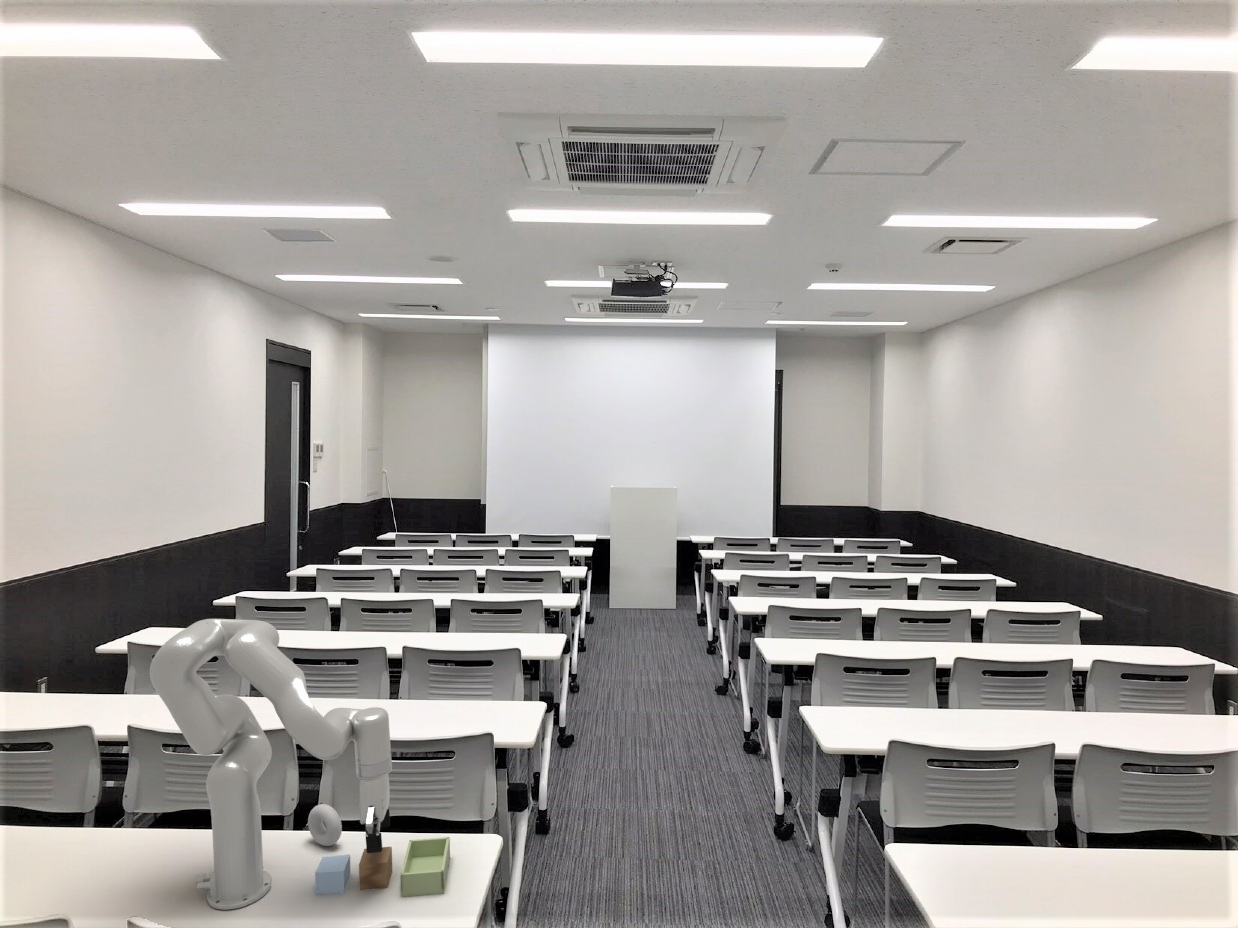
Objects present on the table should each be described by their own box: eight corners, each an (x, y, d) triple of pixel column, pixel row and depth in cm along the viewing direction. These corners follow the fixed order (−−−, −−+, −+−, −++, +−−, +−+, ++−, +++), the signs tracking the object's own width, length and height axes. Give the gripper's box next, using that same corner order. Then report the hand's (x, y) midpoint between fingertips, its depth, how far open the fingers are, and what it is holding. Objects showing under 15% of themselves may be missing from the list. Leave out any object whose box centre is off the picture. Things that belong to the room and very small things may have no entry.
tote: (400, 896, 162) (400, 874, 161) (410, 860, 175) (409, 839, 174) (444, 892, 163) (443, 871, 162) (450, 857, 176) (449, 836, 176)
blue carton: (315, 894, 163) (315, 872, 162) (323, 877, 169) (322, 856, 168) (344, 892, 163) (343, 870, 163) (350, 875, 169) (350, 854, 169)
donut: (305, 842, 182) (303, 803, 181) (317, 835, 185) (315, 796, 184) (334, 853, 177) (332, 813, 177) (345, 846, 181) (344, 806, 180)
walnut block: (359, 890, 164) (358, 864, 164) (365, 873, 170) (364, 848, 170) (387, 888, 165) (386, 862, 164) (392, 871, 171) (391, 846, 170)
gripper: (364, 749, 174) (369, 819, 175) (347, 786, 156) (352, 864, 158) (397, 746, 174) (402, 816, 176) (384, 782, 157) (389, 860, 159)
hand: (378, 838), depth 167 cm, fingers open, 9 cm apart
